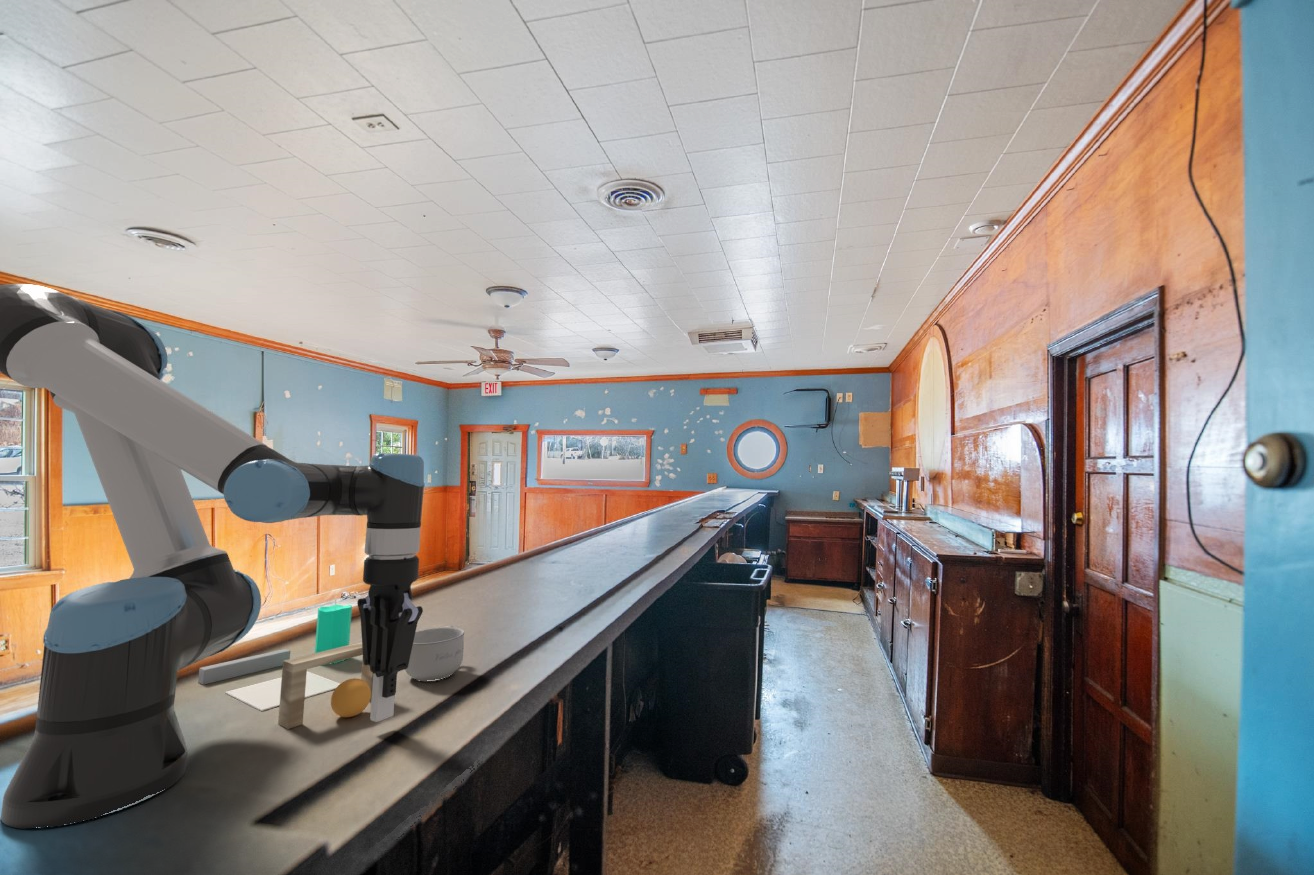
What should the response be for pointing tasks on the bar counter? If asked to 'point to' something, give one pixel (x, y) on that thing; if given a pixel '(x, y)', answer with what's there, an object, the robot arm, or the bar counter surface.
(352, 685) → the ball
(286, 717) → the bridge
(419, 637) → the teacup
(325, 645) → the candle
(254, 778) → the bar counter surface
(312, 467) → the robot arm
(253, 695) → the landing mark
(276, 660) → the stopper
